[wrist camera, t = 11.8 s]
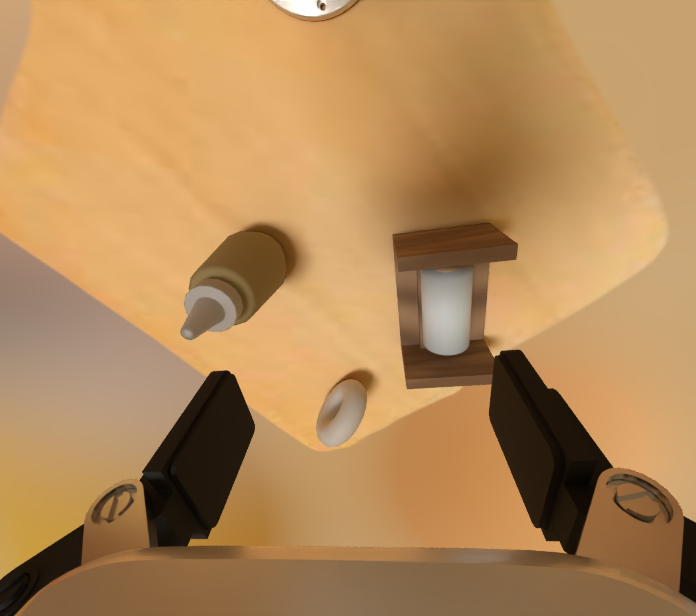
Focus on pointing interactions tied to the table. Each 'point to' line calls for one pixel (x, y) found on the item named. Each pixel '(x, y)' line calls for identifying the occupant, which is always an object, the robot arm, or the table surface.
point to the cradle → (477, 250)
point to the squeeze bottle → (233, 283)
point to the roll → (446, 308)
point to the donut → (341, 413)
